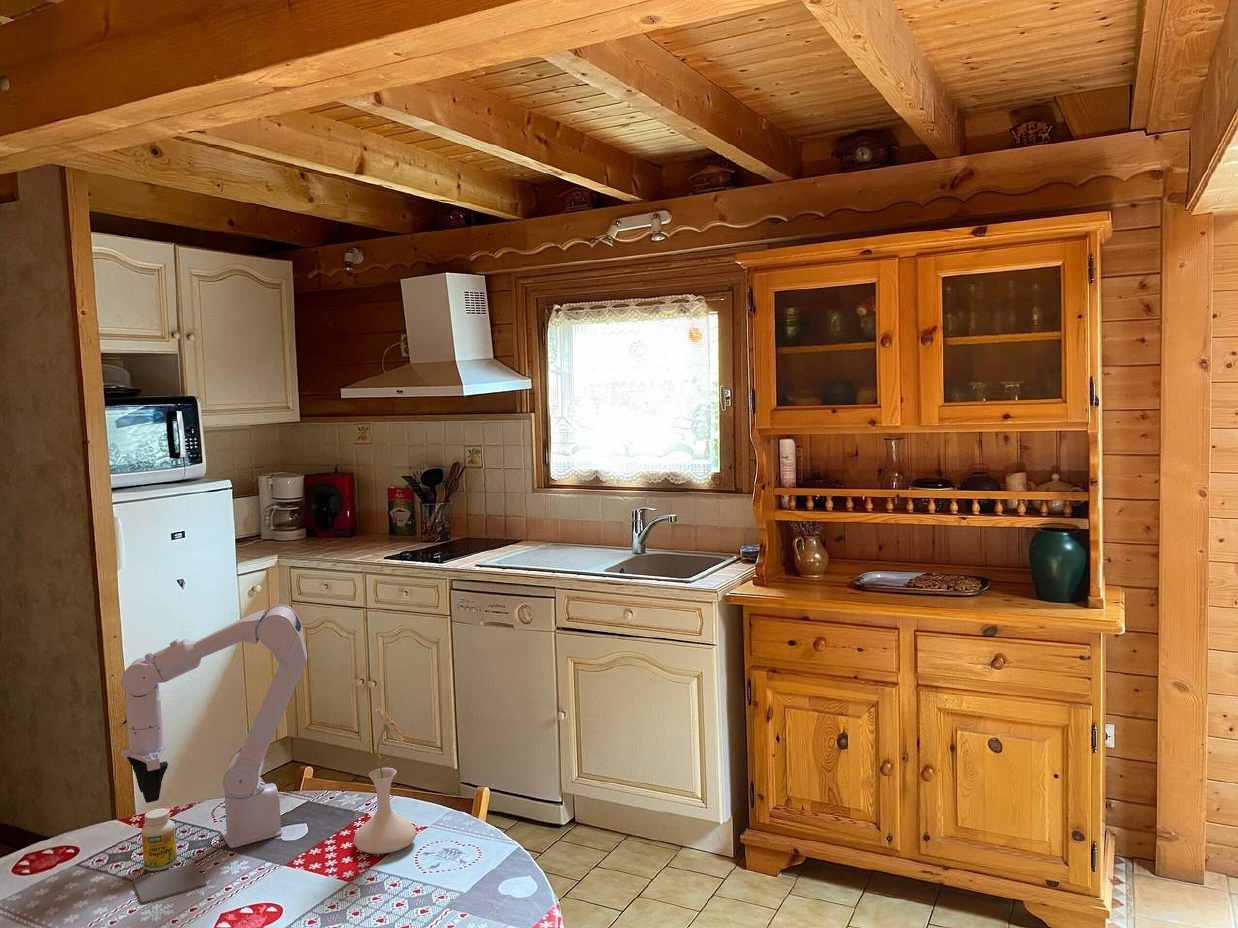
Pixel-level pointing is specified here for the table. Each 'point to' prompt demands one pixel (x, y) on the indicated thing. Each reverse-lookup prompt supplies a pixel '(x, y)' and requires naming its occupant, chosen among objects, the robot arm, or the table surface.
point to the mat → (169, 883)
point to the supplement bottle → (158, 840)
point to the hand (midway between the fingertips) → (149, 795)
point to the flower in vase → (384, 807)
